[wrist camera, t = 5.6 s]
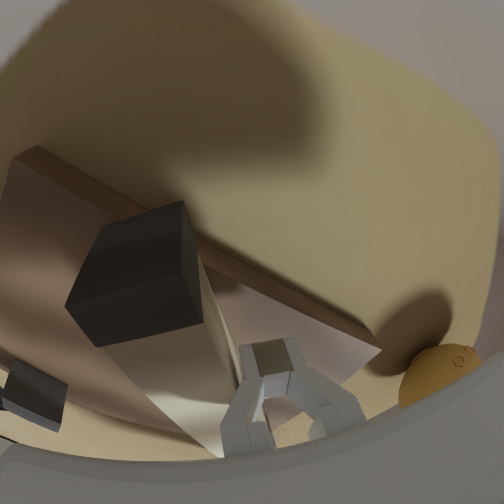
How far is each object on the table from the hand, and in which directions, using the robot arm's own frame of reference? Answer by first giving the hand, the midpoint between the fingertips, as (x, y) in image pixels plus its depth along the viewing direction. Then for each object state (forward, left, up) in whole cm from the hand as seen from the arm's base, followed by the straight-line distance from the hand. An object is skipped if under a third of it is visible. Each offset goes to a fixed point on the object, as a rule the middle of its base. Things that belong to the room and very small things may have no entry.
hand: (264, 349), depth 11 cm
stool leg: (-4, -1, -2) cm, 5 cm away
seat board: (-7, +1, -4) cm, 8 cm away
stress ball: (+1, -23, -5) cm, 23 cm away
